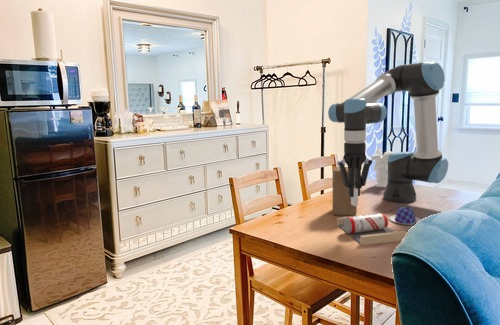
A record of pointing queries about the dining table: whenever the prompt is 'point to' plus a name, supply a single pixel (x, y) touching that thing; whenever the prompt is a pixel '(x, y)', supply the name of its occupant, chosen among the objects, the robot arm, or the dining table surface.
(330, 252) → the dining table surface
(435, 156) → the robot arm
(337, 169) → the wooden block
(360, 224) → the beer can
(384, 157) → the cherub figurine
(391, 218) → the pudding
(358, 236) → the cradle
